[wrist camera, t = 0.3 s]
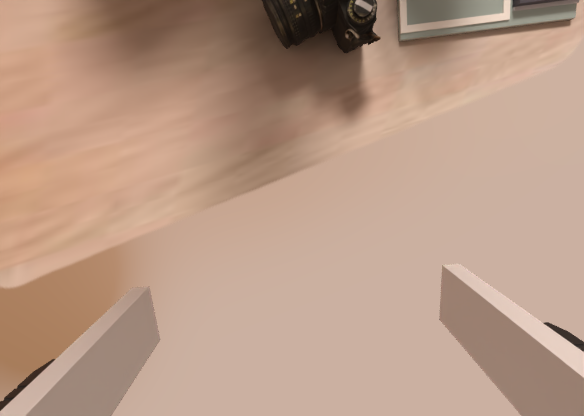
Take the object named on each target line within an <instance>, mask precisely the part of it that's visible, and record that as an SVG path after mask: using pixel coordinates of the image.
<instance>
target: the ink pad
mask: <svg viewBox="0 0 584 416" xmlns="http://www.w3.org/2000/svg"><path fill="white" fill-rule="evenodd" d="M578 2H579V0H513V3H512V12H513V11H521V10H528V9H536V8H544V7H552V6H560V5H567V4H575V3H578Z"/></svg>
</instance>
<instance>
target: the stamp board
mask: <svg viewBox="0 0 584 416" xmlns="http://www.w3.org/2000/svg"><path fill="white" fill-rule="evenodd" d="M397 3H398V33H399V41H407V40H415V39H423V38H431V37H439V36H446V35H454V34H462V33H470V32H478V31H486V30H494V29H501V28H509V27H517V26H525V25H533V24H541V23H549V22H557V21H564V20H571V19H573V18H575V16H576V5H577V3H575V4H567V5H560V6H552V7H544V8H536V9H528V10H521V11H513V12H512V3H513V0H397Z"/></svg>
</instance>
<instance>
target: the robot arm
mask: <svg viewBox="0 0 584 416" xmlns="http://www.w3.org/2000/svg"><path fill="white" fill-rule="evenodd" d="M439 320H440V321H441V322H442V323H443V324H444V325H445V327H446V328H447V329H448V330H449V331H450V332H451V334H452V335H453V336H454V337H455V338H456V340H457V341H458V342H459V343H460V344H461V345H462V346H463V348H464V349H465V350H466V351H467V352H468V354H469V355H470V356H471V357H472V358H473V359H474V361H475V362H476V363H477V364H478V365H479V366H480V368H481V369H482V370H483V371H484V372H485V373H486V375H487V376H488V377H489V378H490V379H491V380H492V382H493V383H494V384H495V385H496V386H497V388H498V389H499V390H500V391H501V392H502V393H503V395H504V396H505V397H506V398H507V399H508V400H509V402H510V403H511V404H512V405H513V406H514V407H515V409H516V410H517V411H518V412H519V413H520V414H521V416H584V342H583V341H581V340H580V339H578V338H577V337H576V336H574V335H572V334H571V333H570V332H568V331H566V330H563V329H561V328H559V327H557V326H555V325H552V324H550V323H542V322H541V321H539V320H538V319H536V318H535V317H534V316H532V315H531V314H529V313H528V312H527V311H525V310H524V309H522V308H521V307H520V306H518V305H517V304H515V303H514V302H513V301H511V300H510V299H508V298H507V297H505V296H504V295H503V294H501V293H500V292H498V291H497V290H496V289H494V288H493V287H491V286H490V285H489V284H487V283H486V282H484V281H483V280H481V279H480V278H479V277H477V276H476V275H474V274H473V273H472V272H470V271H469V270H467V269H466V268H465V267H463V266H462V265H460V264H451V265H442V280H441V301H440V319H439ZM159 341H160V337H159V333H158V327H157V322H156V317H155V312H154V307H153V302H152V298H151V293H150V288H149V287H135V288H131V289H130V290H129V291H128V292H127V293H126V294H125V295H124V296H123V297H122V298H121V299H120V300H118V301H117V303H115V304H114V305H113V306H112V307H111V308H110V309H109V310H108V311H107V312H106V313H105V314H104V315H103V316H101V317H100V318H99V319H98V320H97V321H96V322H95V323H94V324H93V325H92V326H91V327H90V328H89V329H88V330H87V331H85V333H83V334H82V335H81V336H80V337H79V338H78V339H77V340H76V341H75V342H74V343H73V344H71V345H70V346H69V347H68V348H67V349H66V350H65V351H64V352H63V353H62V354H61V355H60V356H59V357H58V358H57V359H53V360H51V361H49V362H48V363H46V364H45V365H43V366H42V367H40V368H39V369H37V370H35V371H34V372H33V373H32V374H30V375H29V376H28V377H27V378H26V379H25V380H24V381H23V382H22V383H20V384H19V385H18V387H17V389H14V390H13V391H12V392H10V393H9V394H8V395H7V396H6V397H5V398H4V401H1V402H0V416H111V415H112V414H113V412H114V410H115V409H116V407H117V406H118V404H119V403H120V401H121V400H122V398H123V397H124V395H125V394H126V392H127V390H128V389H129V387H130V386H131V384H132V383H133V381H134V379H135V378H136V376H137V375H138V373H139V372H140V370H141V369H142V367H143V366H144V364H145V362H146V361H147V359H148V358H149V356H150V355H151V353H152V352H153V350H154V349H155V347H156V345H157V344H158V342H159Z"/></svg>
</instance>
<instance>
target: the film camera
mask: <svg viewBox="0 0 584 416" xmlns="http://www.w3.org/2000/svg"><path fill="white" fill-rule="evenodd" d="M262 2H263V5H264V8H265V10H266V12H267V14H268V17H269V19H270V21H271V23H272V26H273V28H274V30H275V32H276V34H277V36H278V38H279V39H280V41H281V43H282V45H283V46H284V47H285V48H286V49H288V48H289V47H290V46H291V44H295V45H299V44H300V43H302V42H303V41H304V40H305V39H307V38H309V37H313V36H315V35H316V34H317V33H318V32H319V33H322V32H324V31H327V30H329V29H332V31H333V34H334V37H335V39H336V41H337V43H338V44H337V45H338V47H339V48H340V49H341V50H342V51H343V52H344V53H348V52H349V51H351V50H354V49H356V48H357V47H358V46H360V47H361V46H362V45H363V44H367V43H368V45H369V44H371V43H373V42H374V41H378V40H380V37H379V36H377V35H376V34H375V33H374V32H373V30H372V28H373V25H374V23H375V22H376V11H377V2H376V0H262Z"/></svg>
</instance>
